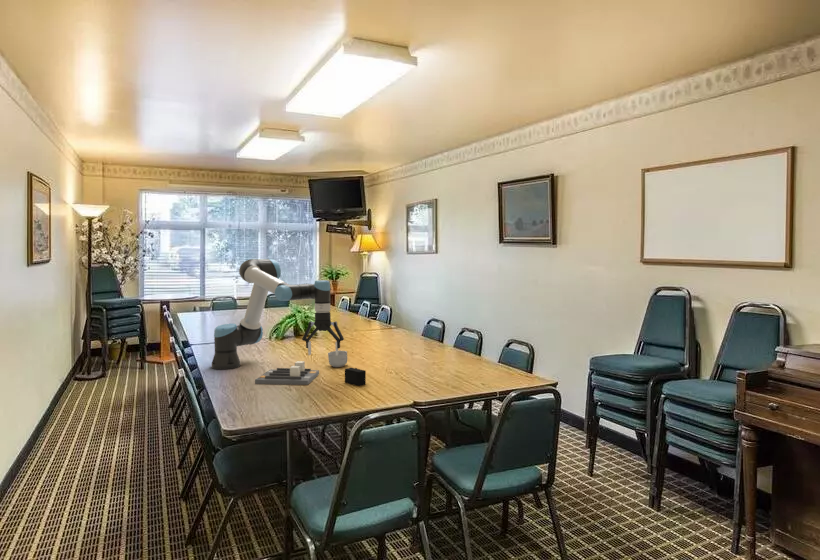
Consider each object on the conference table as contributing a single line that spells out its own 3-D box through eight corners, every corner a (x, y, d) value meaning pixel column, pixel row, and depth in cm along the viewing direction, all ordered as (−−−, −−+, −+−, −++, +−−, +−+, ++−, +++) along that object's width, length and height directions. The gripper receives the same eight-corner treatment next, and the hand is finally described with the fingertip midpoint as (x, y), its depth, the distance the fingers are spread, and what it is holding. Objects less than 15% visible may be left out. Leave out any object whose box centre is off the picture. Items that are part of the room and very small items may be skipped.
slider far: (294, 372, 260) (294, 362, 259) (297, 370, 264) (297, 361, 263) (302, 372, 259) (302, 362, 259) (304, 370, 263) (304, 361, 263)
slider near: (289, 377, 249) (289, 367, 248) (292, 375, 253) (292, 365, 252) (297, 377, 248) (297, 367, 248) (300, 375, 252) (300, 366, 252)
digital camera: (367, 384, 246) (367, 370, 246) (359, 386, 242) (359, 372, 241) (352, 380, 253) (352, 366, 252) (344, 382, 248) (344, 368, 248)
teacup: (343, 368, 279) (343, 354, 278) (325, 367, 281) (325, 353, 280) (351, 363, 292) (351, 349, 292) (333, 362, 294) (333, 348, 294)
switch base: (255, 383, 246) (255, 377, 246) (270, 373, 268) (270, 367, 268) (307, 384, 244) (307, 378, 244) (319, 374, 266) (319, 368, 266)
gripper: (295, 312, 245) (296, 356, 246) (346, 312, 243) (346, 356, 244) (299, 311, 252) (300, 353, 253) (349, 311, 251) (349, 353, 252)
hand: (323, 354), depth 249 cm, fingers open, 13 cm apart
